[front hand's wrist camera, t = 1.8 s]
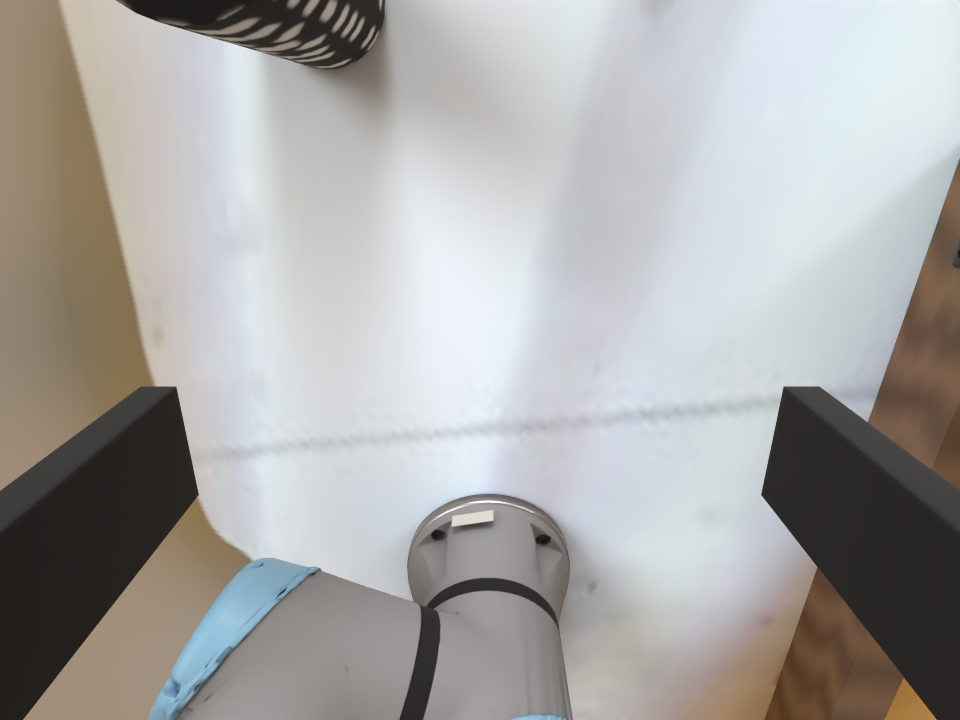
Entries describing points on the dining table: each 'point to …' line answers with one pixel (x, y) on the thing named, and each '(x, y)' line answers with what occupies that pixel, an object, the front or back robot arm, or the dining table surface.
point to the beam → (926, 436)
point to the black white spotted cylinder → (278, 25)
